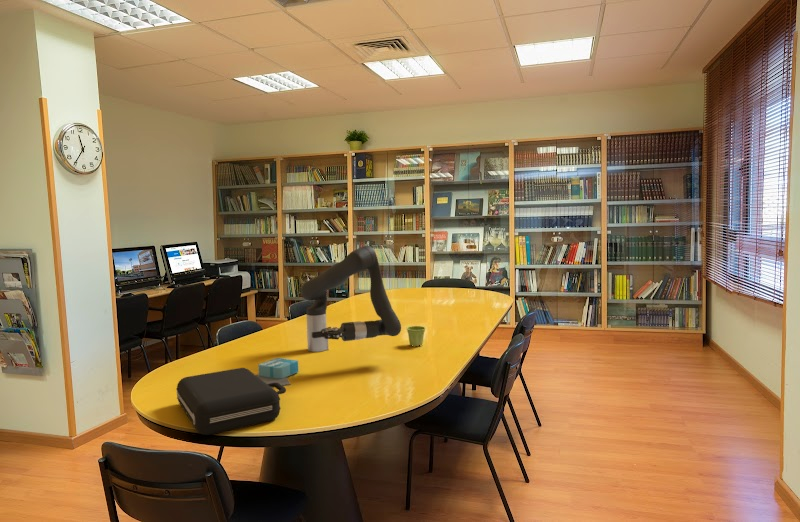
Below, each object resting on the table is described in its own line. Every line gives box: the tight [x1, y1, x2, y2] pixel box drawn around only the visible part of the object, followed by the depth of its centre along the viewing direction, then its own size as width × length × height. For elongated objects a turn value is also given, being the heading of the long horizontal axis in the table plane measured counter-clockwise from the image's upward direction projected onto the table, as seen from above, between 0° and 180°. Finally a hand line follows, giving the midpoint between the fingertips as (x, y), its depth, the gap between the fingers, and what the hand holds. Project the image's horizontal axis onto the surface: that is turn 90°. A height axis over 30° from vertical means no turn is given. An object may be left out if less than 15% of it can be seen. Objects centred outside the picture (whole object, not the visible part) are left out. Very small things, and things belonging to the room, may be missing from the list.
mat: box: [255, 374, 291, 388], centre depth 205 cm, size 14×18×1 cm
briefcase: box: [176, 367, 287, 436], centre depth 174 cm, size 36×32×10 cm
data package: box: [257, 357, 299, 379], centre depth 213 cm, size 12×4×12 cm
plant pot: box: [406, 325, 426, 347], centre depth 256 cm, size 9×9×9 cm
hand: (312, 335), depth 211 cm, fingers closed
